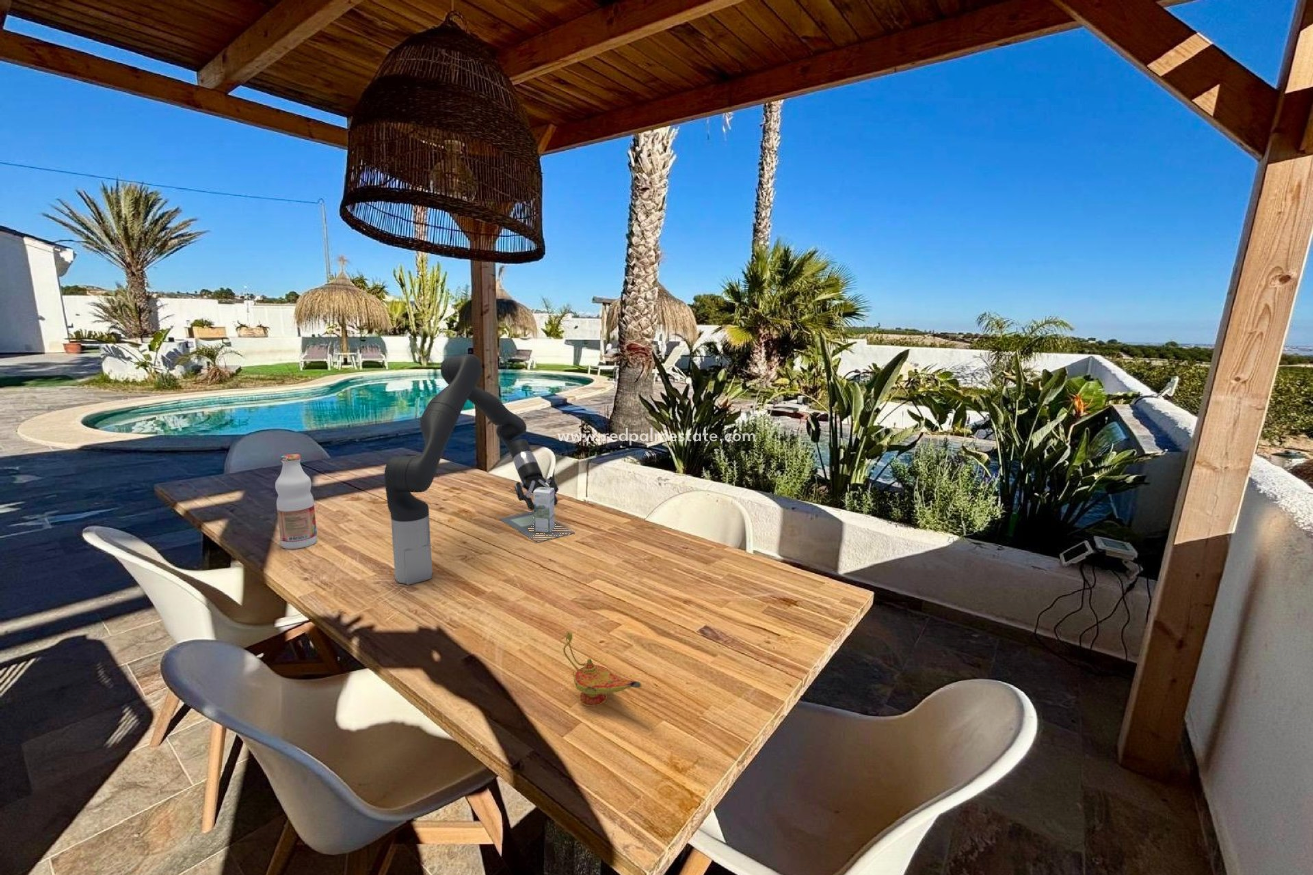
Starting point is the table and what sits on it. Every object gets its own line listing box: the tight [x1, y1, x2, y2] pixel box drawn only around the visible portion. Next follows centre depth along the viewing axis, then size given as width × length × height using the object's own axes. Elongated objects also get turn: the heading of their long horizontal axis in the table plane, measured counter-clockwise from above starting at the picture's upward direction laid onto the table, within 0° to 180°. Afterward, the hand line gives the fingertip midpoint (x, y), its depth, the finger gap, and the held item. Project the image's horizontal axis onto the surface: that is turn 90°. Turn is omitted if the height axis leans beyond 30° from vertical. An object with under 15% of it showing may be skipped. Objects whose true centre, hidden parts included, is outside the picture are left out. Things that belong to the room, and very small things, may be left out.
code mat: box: [498, 510, 576, 542], centre depth 184 cm, size 28×14×1 cm, turn 41°
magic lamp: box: [562, 631, 642, 707], centre depth 95 cm, size 7×18×11 cm, turn 56°
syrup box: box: [532, 487, 555, 533], centre depth 178 cm, size 6×6×14 cm
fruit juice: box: [274, 453, 318, 550], centre depth 161 cm, size 9×9×28 cm
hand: (544, 506), depth 178 cm, fingers open, 8 cm apart
